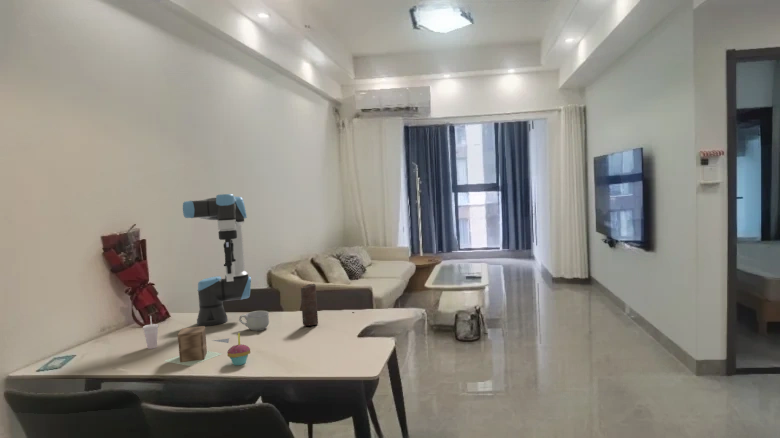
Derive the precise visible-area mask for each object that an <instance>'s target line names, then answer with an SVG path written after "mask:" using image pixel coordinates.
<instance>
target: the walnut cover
mask: <svg viewBox="0 0 780 438" xmlns="http://www.w3.org/2000/svg"><path fill="white" fill-rule="evenodd" d="M206 334H207V333H206V326H200V325H199V326H194V327H193V326H192V327H182V328H181V329H180V331H179V332H178V334H177V342H178V353H179V355H178V356H180V362H188V361H196V360H204V359H205V356H206V354H207V351H208V347H207V335H206Z"/></svg>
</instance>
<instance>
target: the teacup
mask: <svg viewBox="0 0 780 438" xmlns="http://www.w3.org/2000/svg"><path fill="white" fill-rule="evenodd" d="M269 317H270V315H269V311H267V310H254V311H250V312H248V313H246V314H241V315H239V318H238V321H239V322H240V324H242V325H244V326H245V327H247V328H248V329H249V330H250V331H256V332H259V331H263V330H265V329H267V328H268V326H269V323H270V319H269ZM242 318H244V320H245V321H246V322H244V321H243V320H242Z"/></svg>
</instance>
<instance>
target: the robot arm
mask: <svg viewBox="0 0 780 438" xmlns="http://www.w3.org/2000/svg"><path fill="white" fill-rule="evenodd" d="M182 215H183V217H184V218H185V219H196V218H198V219H200V220H208V221H217V230H219V231H218V239H219V240H220V241H223V242H224V241H225V242H224V243H223V253H224V262H225V263H223V267H225V274H224V278H222V276H220V275H217V276H211V277H207V278H204V279H201V280H199V281H198V282H197V291H198V292H197V293H198V307H199V311H198V313H197V318H196V325H197V326H199V327H200V326H205V327H207V326H208V327H210V326H216V325H221V324H225V323H226V322H228V315H227V313H226V310H225V308H224V303H223V302H228V301H236V300H237V301H238V300H240V301H242V300H245V299H246V300H247V299H249V298H250V296H251V286H252V277H251V276H250V275H249V272H248V271H246V269H245V268H246V267H245V255H244V243H243V242H244V240H243V239H244V238H243V228H242V225H243V224H244V223H245V219H247V218H248V215H247V210H246V207H245V202H244V197H242V196H235V195H234V194H233V193H225V194H224V193H221V194H216V196H215V197H211V198H205V199H200V200H187V201H184V202H182Z"/></svg>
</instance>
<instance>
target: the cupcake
mask: <svg viewBox="0 0 780 438" xmlns="http://www.w3.org/2000/svg"><path fill="white" fill-rule="evenodd" d="M226 354H227V357H228V358H229V359H230V360H231V362H232V364H233V365H234V366H241V365H245V364H247V360H248V356H249V354H251V348H250V347H249V346H248V345H247V344H241V333H240V332H238V333H237V345H236V344H234V345H233V346H230V348H229V349H228V350H227V353H226Z"/></svg>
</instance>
